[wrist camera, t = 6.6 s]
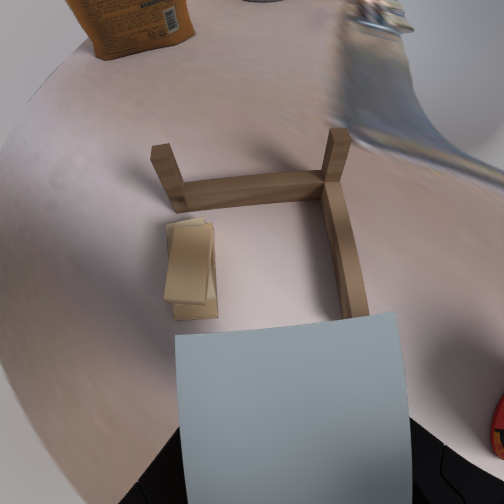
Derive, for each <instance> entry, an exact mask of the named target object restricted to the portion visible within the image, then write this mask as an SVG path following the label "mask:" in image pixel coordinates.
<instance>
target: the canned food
mask: <svg viewBox="0 0 504 504" xmlns="http://www.w3.org/2000/svg"><path fill="white" fill-rule="evenodd" d="M491 444H492V448H493V450H494V452H495V453H496V454H497V455H498V456H499V457H500V458H501V459H502V460H504V394H503V396H502V398H501V399H500V401H499V403H498V406H497V408H496V410H495V413H494V416H493V421H492V425H491Z"/></svg>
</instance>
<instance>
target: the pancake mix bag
mask: <svg viewBox="0 0 504 504" xmlns="http://www.w3.org/2000/svg"><path fill="white" fill-rule="evenodd" d="M65 2H66V3H67V4H68V6H69V8H70V9H71V11H72V12H73V14H74V15H75V17H76V19H77V21H78V22H79V24H80V25H81V27H82V28H83V30H84V31H85V32H86V34H87V35H88V37H89V38H90V39H91V41H92V42H93V46H94V52H95V56H96V57H97V58H100V59H102V60H104V61H106V60H114V59H117V58H121V57H124V56H128V55H132V54H136V53H140V52H144V51H148V50H152V49H157V48H162V47H168V46H174V45H177V44H179V43H182V42H184V41H185V40H187V39H189V38H191V37H192V36H193V35H195V34H196V31H195V29H194V27H193V25H192V22H191V20H190V16H189V13H188V9H187V5H186V0H65Z"/></svg>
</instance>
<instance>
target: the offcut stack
mask: <svg viewBox="0 0 504 504" xmlns="http://www.w3.org/2000/svg"><path fill="white" fill-rule="evenodd" d="M166 232H167V245H168V257H169V264H168V270H167V277H166V284H165V291H164V298H163V299H164V300H165V301H166V302H168V303H173V318H174V319H176V320H194V319H209V318H218V308H217V289H216V268H215V244H214V228H213V225H212V223H206V224H205V222H204V219H203V217H199V218H194V219H189V220H184V221H180V222H175V223H170V224H166Z"/></svg>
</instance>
